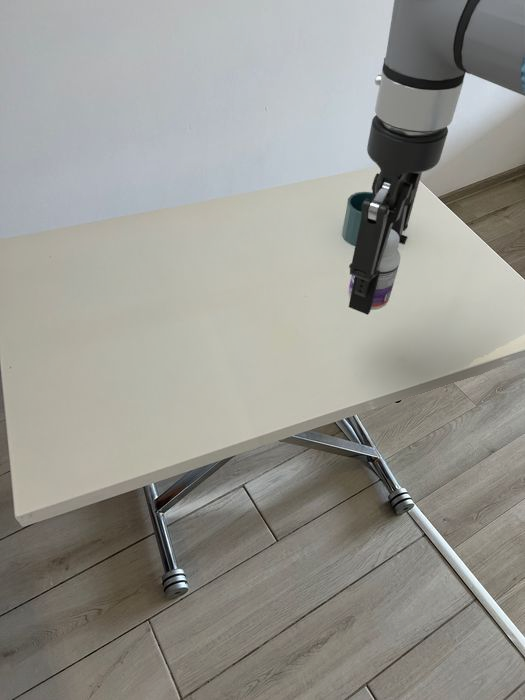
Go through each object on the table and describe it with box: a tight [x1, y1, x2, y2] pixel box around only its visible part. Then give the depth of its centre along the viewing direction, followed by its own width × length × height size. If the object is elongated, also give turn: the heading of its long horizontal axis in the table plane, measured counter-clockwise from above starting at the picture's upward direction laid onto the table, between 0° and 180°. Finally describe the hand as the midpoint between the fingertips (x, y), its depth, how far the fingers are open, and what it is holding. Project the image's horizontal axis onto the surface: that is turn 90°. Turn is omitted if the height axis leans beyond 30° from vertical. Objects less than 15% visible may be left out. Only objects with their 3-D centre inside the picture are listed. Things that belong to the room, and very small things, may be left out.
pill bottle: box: [347, 229, 401, 311], centre depth 66 cm, size 5×5×10 cm
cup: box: [341, 191, 373, 247], centre depth 98 cm, size 8×8×7 cm
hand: (368, 295), depth 69 cm, fingers closed on pill bottle, 5 cm apart
